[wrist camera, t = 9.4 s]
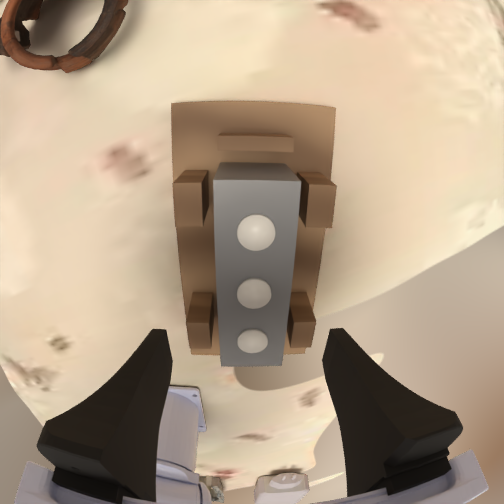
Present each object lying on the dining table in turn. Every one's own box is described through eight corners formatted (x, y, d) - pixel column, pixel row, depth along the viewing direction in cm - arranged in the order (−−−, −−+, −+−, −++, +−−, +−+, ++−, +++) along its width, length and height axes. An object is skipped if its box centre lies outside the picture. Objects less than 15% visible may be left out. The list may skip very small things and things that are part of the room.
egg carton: (181, 471, 41) (180, 490, 38) (222, 474, 42) (222, 493, 38) (189, 487, 46) (188, 503, 42) (224, 489, 46) (224, 505, 43)
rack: (302, 345, 26) (311, 383, 22) (192, 346, 25) (186, 384, 21) (331, 107, 17) (356, 107, 13) (174, 103, 17) (155, 101, 13)
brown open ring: (117, -54, 10) (117, -82, 5) (141, 35, 18) (150, 46, 13) (-16, 18, 9) (-65, 30, 4) (16, 100, 16) (-17, 139, 11)
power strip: (274, 318, 23) (282, 368, 18) (223, 319, 23) (221, 369, 18) (285, 163, 18) (302, 183, 13) (220, 162, 18) (212, 181, 13)
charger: (315, 460, 40) (297, 485, 47) (261, 464, 39) (253, 487, 46) (319, 483, 36) (300, 503, 42) (263, 488, 35) (254, 506, 42)
